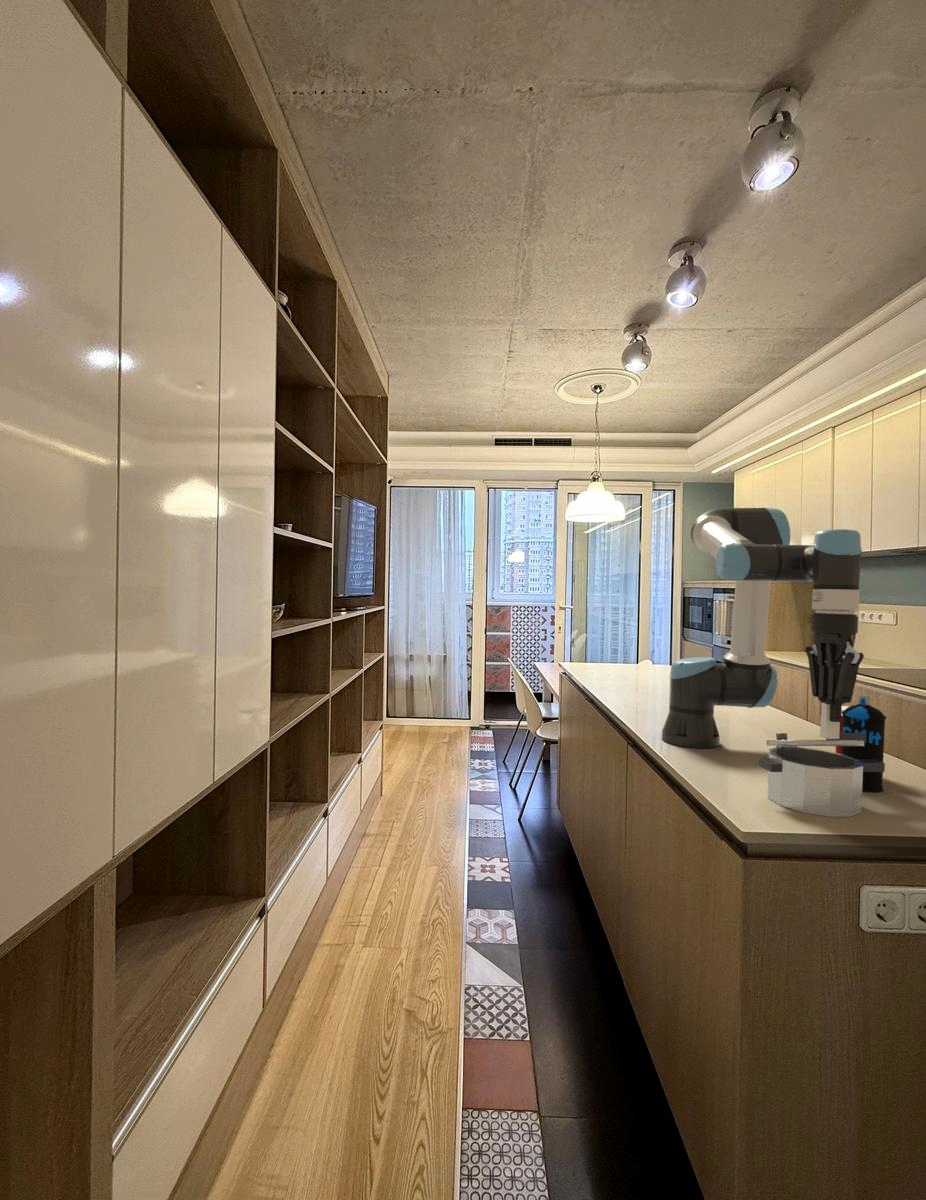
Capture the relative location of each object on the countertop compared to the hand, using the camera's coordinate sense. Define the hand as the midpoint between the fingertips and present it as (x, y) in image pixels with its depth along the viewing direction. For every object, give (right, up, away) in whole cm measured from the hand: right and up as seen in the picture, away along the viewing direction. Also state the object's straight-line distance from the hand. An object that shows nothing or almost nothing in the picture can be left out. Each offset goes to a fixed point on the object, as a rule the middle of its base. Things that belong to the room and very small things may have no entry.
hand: (829, 737), depth 114 cm
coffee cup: (+23, -15, +30) cm, 41 cm away
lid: (+2, -3, +8) cm, 9 cm away
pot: (+3, -15, +8) cm, 17 cm away
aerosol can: (+18, -15, +19) cm, 30 cm away
